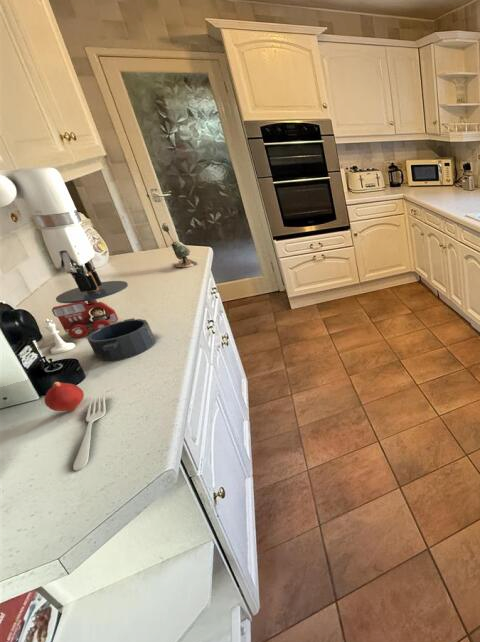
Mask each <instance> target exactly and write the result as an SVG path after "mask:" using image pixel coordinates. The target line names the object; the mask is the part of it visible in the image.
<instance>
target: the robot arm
mask: <svg viewBox="0 0 480 642" xmlns="http://www.w3.org/2000/svg"><path fill="white" fill-rule="evenodd" d="M17 200H23V201H24V203H25V204H26V207H27V208H28V211H29V213H30V214H31V217H32V219H33V220H34V223H35V224H36V226H37V228H38V230H40V231H41V235H42V239H43V241H44V245H45V247H46V250H47V252H48V253H49V256H50V259H51V261H52V263H53V265H54V267H55V268H57V269H59V270H60V269H63V268H64V269H65V272H66V273H67V274H70V275H71V277H72V279H74V282H75V284H76V285H77V288H79V290H80V291H81V292H85V291H92V290H96V289H97V286H101V285H102V283H101V282H102V281H101V278H100V277H99V275H98V273H97V271H96V267H95V265H94V262H93V258H94V257H95V255H96V254H95V250H94V247H93V246H92V243H91V241H90V239H89V238H88V236H87V234H86V232H85V230H84V229H83V227H82V224H83V221H82V218H81V216H80V213H79V212H78V210H77V208H76V205H75V203H74V201H73V199H72V197H71V194H70V192H69V190H68V187H67V186H66V184H65V181H64V179H63V177H62V175H61V173H60V171H59V170H57V169H56V168H55V167H50V166H37V167H36V166H35V167H24V168H22V167H21V168H17V169H0V208H2V207H6V206H8V205H10V204H11V203H12V202H14V201H17ZM88 271H90V272H91V273H92V275H93V277H94V279H95V281H96V283H97V286H96V284H95V282H94V279H93V277H92V275H89V273H88Z"/></svg>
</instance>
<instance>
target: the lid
mask: <svg viewBox="0 0 480 642" xmlns="http://www.w3.org/2000/svg"><path fill="white" fill-rule="evenodd" d="M88 273H89V275H92V273H91V272H90V271H88ZM92 277H93V275H92ZM93 279H94V277H93ZM94 282H95V284H96V286H97V283H96V281H95V279H94ZM101 283H102V285H101V286H97V289H96V290H92V291H85V292H81V291H80V290H79V288H78V287H74V288H72V289H68V290H66V291H64V292H62V293H61V294H59V295H57V296H56V297H55V300H56V302H57V303H59V304H71V303H78V302H87V301H90V300H95V299H96V300H99V299H103V298H106V297H109V296H112V295H114V294H115V295H116V294H117V293H119V292H122V291H123V290H125V289H127V288H128V286H129V283H128V282H127V281H125V280H108V281H101Z"/></svg>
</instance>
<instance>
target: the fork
mask: <svg viewBox="0 0 480 642" xmlns="http://www.w3.org/2000/svg"><path fill="white" fill-rule="evenodd" d="M96 399H97V398H96V397H95V398H93V403H92V399H89V402H88V409H87V413H86V416H85V422H87V426H86V430H85V432H84V433H85V434H84V436H83V439H82V442H81V444H80V447H79V450H78V452H77V454H76V457H75V460H74V462H73V465H72V469H73V470H74V471H76V472H77V471H80V470H82V469H84V467H86V465H87V464H88V461H89V455H90V449H91V448H90V446H91V434H92V433H91V432H92V426H93V423H94V422H95V421H97V420H100V419H101V418H103V417H104V416H105V414H106V412H107V411H106V400H105V395H102V411H101V397H100V396H98V399H97V402H96ZM96 403H97V405H96ZM92 404H93V406H92ZM96 406H97V411H96ZM91 409H92V412H91Z"/></svg>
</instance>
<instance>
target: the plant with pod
mask: <svg viewBox="0 0 480 642" xmlns="http://www.w3.org/2000/svg"><path fill="white" fill-rule="evenodd" d="M161 230H162V231H164V232H166V233H167V234H168V236H169V238H170V239H171V241H172V243H171V247H172V251H173V252H174V255H175V257H176V258H177V259H178V261H177V263H175V264H174V266H175V267H176V268H191V267H193V266H196V265H198V262H197V261H195V260H191V259H190V258H188V256H190V254H191V250H190V248H189V247H188V245H186V244H184V243H183V242H181V241H177V240H176V241H174V239H173V238H172V236H171V235H170V229H169V226H168V224H167V223H166V222H163V223H162V226H161Z"/></svg>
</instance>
